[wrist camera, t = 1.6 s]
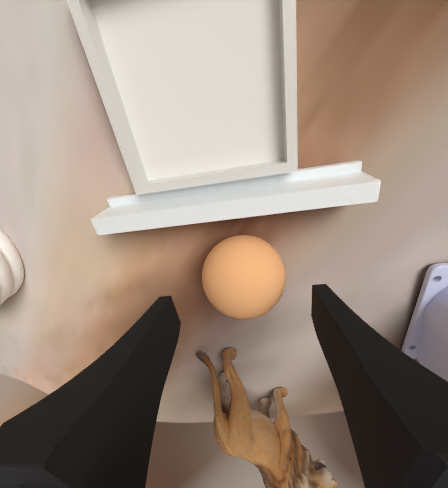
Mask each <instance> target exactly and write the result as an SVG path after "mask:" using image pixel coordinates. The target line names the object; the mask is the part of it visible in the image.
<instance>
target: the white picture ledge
mask: <svg viewBox="0 0 448 488" xmlns="http://www.w3.org/2000/svg"><path fill="white" fill-rule="evenodd" d="M361 167H362V161H360V160H357V161H350V162H343V163H337V164H330V165H323V166H317V167H310V168H303V169H298V171H296V172H289V173H283V174H276V175H269V176H262V177H255V178H249V179H242V180H235V181H228V182H221V183H215V184H208V185H201V186H194V187H187V188H181V189H174V190H167V191H160V192H153V193H147V194H140V195H136V193H135V194H128V195H121V196H114V197H109V198H108V199H107V201H108V203H109V206H110V207H109V208H107V209H106V210H104V211H103V212H101V213H100V214H98V215H97V216H95V217H94V218H92V219H91V221H92V224H93V226H94V228H95V230H96V232H97V234H98V235H105V234H114V233H122V232H130V231H138V230H146V229H155V228H163V227H171V226H179V225H188V224H196V223H204V222H212V221H221V220H229V219H237V218H245V217H253V216H262V215H270V214H278V213H286V212H295V211H303V210H311V209H319V208H328V207H336V206H344V205H352V204H361V203H369V202H377V201H378V196H379V190H380V184H381V181H380V180H378V179H376V178H374V177H372V176H370V175H368V174H366V173H364V172H362V171H361Z"/></svg>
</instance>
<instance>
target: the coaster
mask: <svg viewBox="0 0 448 488" xmlns="http://www.w3.org/2000/svg"><path fill="white" fill-rule="evenodd" d="M23 279H24V267H23V263H22V260H21V257H20V255H19V253H18V251H17V249H16V247H15V245H14V244H13V243H12V241H11V240H10V238H9V237H8V236H7V235H6V234H5V233H4V231H3V230H2V229H1V228H0V305H1V304H2V303H3V302H4V301H5V300H6V299H7V298H8V297H10V296H12V295H13V294H15V293H16V292H17V291H18V289H19V288H20V287H21V285H22V283H23Z"/></svg>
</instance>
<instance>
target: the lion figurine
mask: <svg viewBox="0 0 448 488" xmlns="http://www.w3.org/2000/svg"><path fill="white" fill-rule="evenodd" d="M196 356H197V357H198V358H199V359H200V360H201V361H202V362H204V363H205V364H206V365H207V367H208V368H209V371H210V374H211V379H212V387H213V398H214V412H215V416H214V434H215V437H216V440H217V442H218V444H219V446H220V447H221V449H222V450H223V452H224V453H226V454H227V455H230V456H235V457H240V458H243V459H246V460H248V461H250V462H251V463H252V464H254V465H255V466H256V467H258V469H259V470H260V472H261V474H262V477H263V481H264V484H265V487H266V488H336V487H337V482H336V480H335V479H334V478H333V477H332V475H331V473H330V472H329V471H328V470H327V469H326V465H325V463H324V461H323V460H322V459H318V460H316V461H314V462H313V461H312V457H311V454H310V453H309V450H308V449H306V448H305V447H304V446H303V445H301V443H300V441H299V438H298V436H297V434H296V433H295V432H294V431H292V430H291V429H290V425H289V420H288V415H287V412H286V409H285V407H284V404H283V401H282V397H285V396H286V395H287V389H286V388H284V387H278V388H276V389H274V391H273V397H274V402H275V406H276V418H275V422H274V423H273V422H272V421H271V420H270V419H269V406H270V405H271V400H270V399H269V398H267V397H265V398H261V399H260V412H259V411H256V410H253V409H250V406H249V402H248V398H247V395H246V391H245V388H244V386H243V384H242V382H241V380H240V378H239V376H238V375H237V373H236V371H235V369H234V367H233V365H232V362H231V360H234V359H235V357H236V350H235V349H233V348H227V349H225V350H224V351H223V354H222V362H223V370H224V372H222V373H221V374H220V378H219V381H218V379H217V375H216V372H215V368H214V366H213V364H212V363H211V361H210V359H209V357H208V356H207V355H206V353H203V352H200V351H199V352H197V353H196ZM226 382H228V383H229V387H230V392H231V401H230V404H229V399H228V396H227V392H226Z"/></svg>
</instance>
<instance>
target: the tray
mask: <svg viewBox="0 0 448 488" xmlns="http://www.w3.org/2000/svg"><path fill="white" fill-rule="evenodd" d="M66 1H67V3H68V6H69V9H70V12H71V14H72V17H73V20H74V23H75V26H76V28H77V31H78V34H79V37H80V40H81V42H82V45H83V48H84V51H85V53H86V56H87V59H88V62H89V65H90V67H91V70H92V73H93V76H94V78H95V81H96V84H97V87H98V90H99V92H100V95H101V98H102V101H103V104H104V106H105V109H106V112H107V115H108V117H109V120H110V123H111V126H112V129H113V131H114V134H115V137H116V140H117V143H118V145H119V148H120V151H121V154H122V156H123V159H124V162H125V165H126V168H127V170H128V173H129V176H130V179H131V181H132V184H133V187H134V190H135V193H136V195H140V194H147V193H153V192H160V191H167V190H174V189H181V188H187V187H194V186H201V185H208V184H215V183H221V182H228V181H235V180H242V179H249V178H255V177H262V176H269V175H276V174H283V173H289V172H296V171H298V165H297V64H296V0H66Z"/></svg>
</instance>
